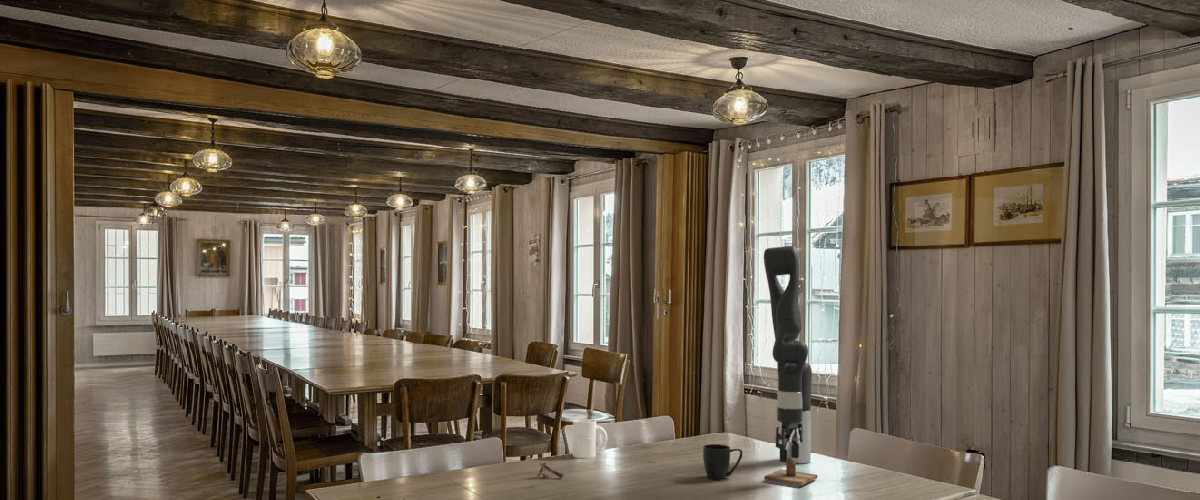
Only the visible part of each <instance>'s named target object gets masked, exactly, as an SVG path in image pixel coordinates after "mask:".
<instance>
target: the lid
mask: <svg viewBox="0 0 1200 500" xmlns="http://www.w3.org/2000/svg"><path fill="white" fill-rule="evenodd" d="M785 463H786V464H785V467H786V469H782V468H780V469H778V470H776V471H773V472H771V473H768V474H766V475H764V477H763V478H764V481H766V480H771V481H777V482H783V483H789V484H795V485H801V486H800V487H802V486H804V485H806V484H808V483H810V482H813V481H815V480H817V479H818V474H815V473H809V472H801V471H797V468H796V467H797V463H796V459H795V458H787V462H785Z"/></svg>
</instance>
